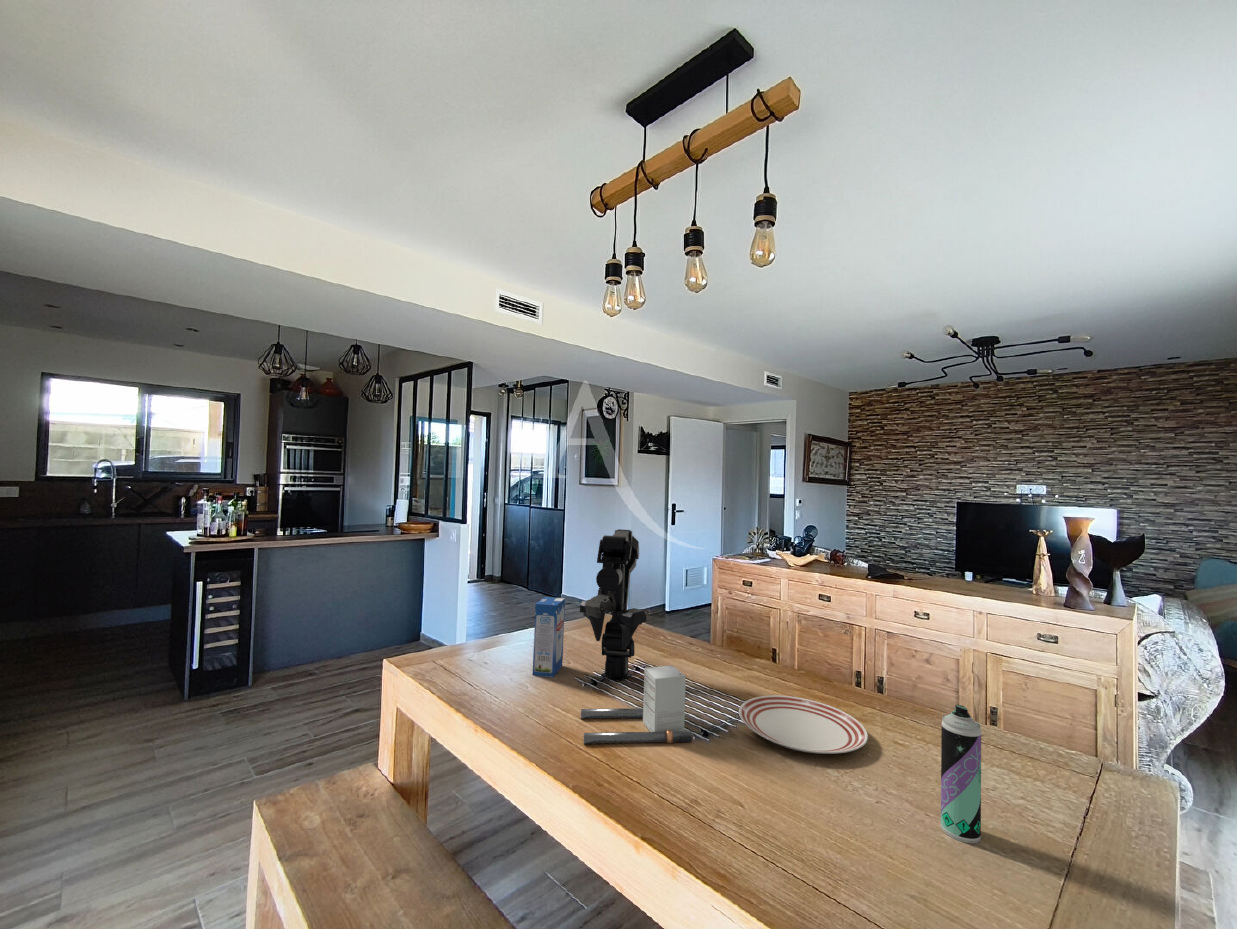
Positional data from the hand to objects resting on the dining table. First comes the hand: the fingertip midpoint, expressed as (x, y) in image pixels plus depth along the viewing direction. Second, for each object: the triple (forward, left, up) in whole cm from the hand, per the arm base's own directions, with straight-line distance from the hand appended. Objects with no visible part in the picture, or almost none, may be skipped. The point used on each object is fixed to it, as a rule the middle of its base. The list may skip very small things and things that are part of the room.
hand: (611, 644), depth 137 cm
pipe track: (+10, +16, -13) cm, 23 cm away
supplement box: (+5, +21, -13) cm, 25 cm away
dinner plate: (-16, +44, -14) cm, 49 cm away
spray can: (0, +77, -13) cm, 78 cm away
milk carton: (-1, -25, -13) cm, 28 cm away
